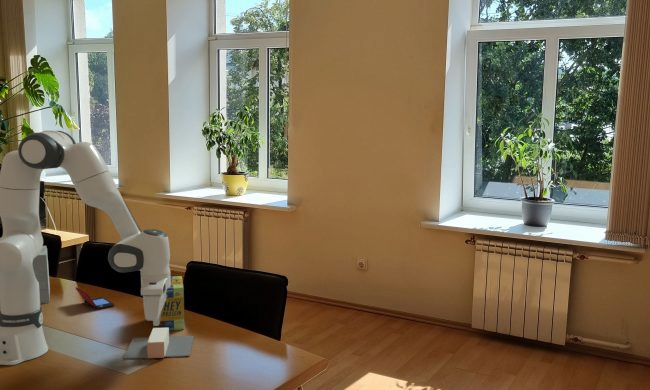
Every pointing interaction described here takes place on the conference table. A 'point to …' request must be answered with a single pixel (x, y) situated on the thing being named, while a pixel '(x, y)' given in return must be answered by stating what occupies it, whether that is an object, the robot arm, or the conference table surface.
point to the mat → (175, 347)
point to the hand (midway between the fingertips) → (156, 324)
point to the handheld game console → (95, 301)
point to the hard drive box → (42, 275)
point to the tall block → (158, 343)
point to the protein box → (173, 306)
